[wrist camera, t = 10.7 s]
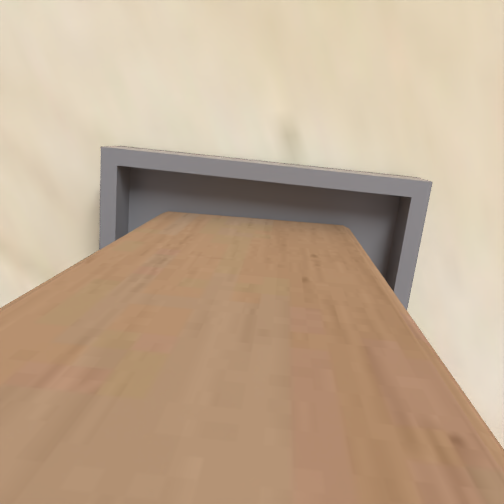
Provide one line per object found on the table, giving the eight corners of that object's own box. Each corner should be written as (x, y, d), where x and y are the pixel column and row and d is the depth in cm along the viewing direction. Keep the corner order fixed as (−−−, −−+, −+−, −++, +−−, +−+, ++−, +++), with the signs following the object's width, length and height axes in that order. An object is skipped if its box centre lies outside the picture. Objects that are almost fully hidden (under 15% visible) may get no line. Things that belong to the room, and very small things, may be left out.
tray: (113, 404, 28) (96, 429, 25) (119, 145, 24) (101, 146, 21) (367, 438, 27) (375, 468, 24) (417, 177, 23) (432, 181, 21)
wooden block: (329, 395, 26) (459, 1170, 6) (158, 378, 26) (-200, 1041, 7) (351, 224, 23) (667, 641, 4) (161, 209, 24) (-382, 508, 4)
